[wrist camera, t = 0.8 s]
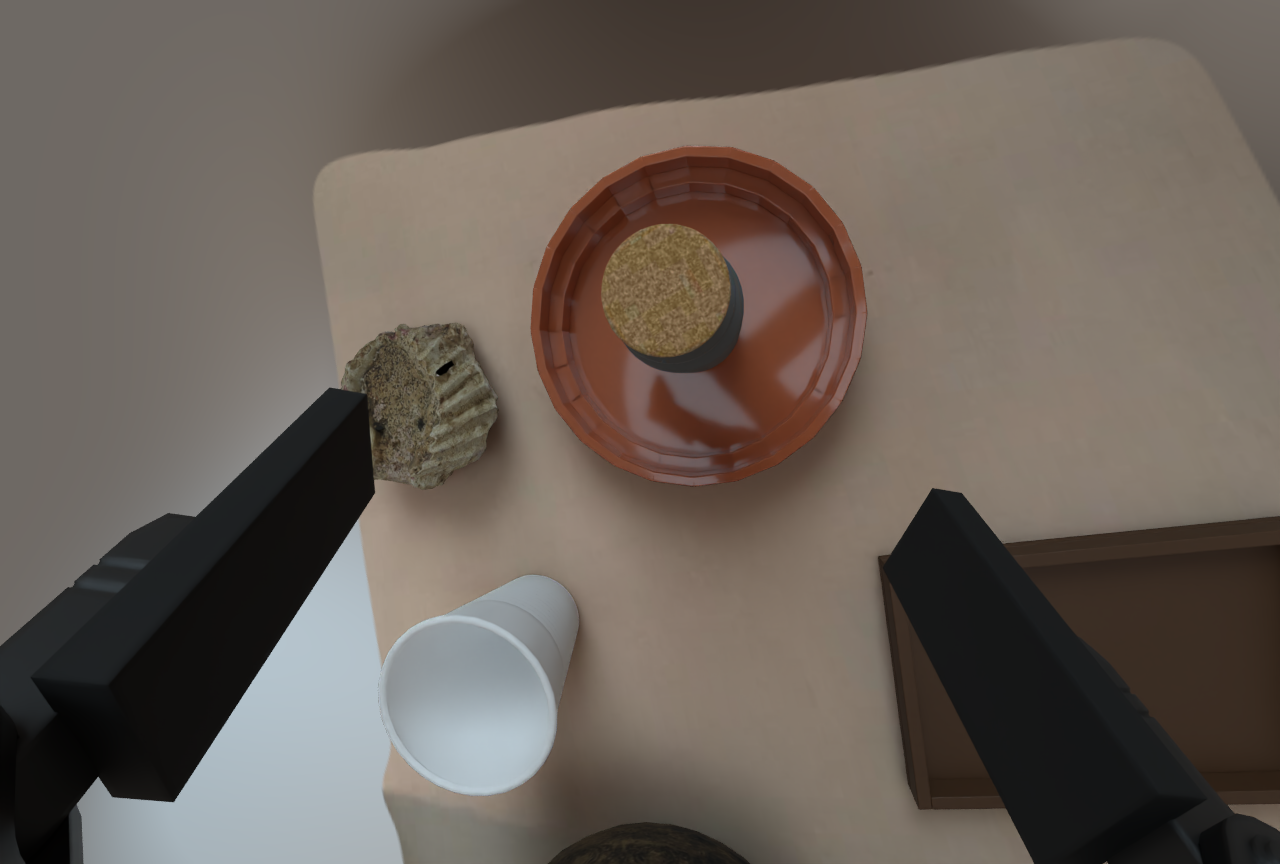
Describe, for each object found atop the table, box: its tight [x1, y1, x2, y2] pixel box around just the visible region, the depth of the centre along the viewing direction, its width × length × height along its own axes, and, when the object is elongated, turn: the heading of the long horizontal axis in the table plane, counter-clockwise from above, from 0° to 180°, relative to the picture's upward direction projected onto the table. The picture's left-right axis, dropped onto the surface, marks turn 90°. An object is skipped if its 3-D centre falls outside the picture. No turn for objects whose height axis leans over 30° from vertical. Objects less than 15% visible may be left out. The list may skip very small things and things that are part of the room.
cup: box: [378, 575, 579, 796], centre depth 33 cm, size 10×10×11 cm
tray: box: [878, 516, 1280, 809], centre depth 32 cm, size 22×16×2 cm
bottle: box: [601, 224, 744, 373], centre depth 27 cm, size 6×6×15 cm
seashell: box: [341, 323, 499, 490], centre depth 35 cm, size 11×7×10 cm
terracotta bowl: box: [531, 146, 867, 487], centre depth 33 cm, size 19×19×4 cm
